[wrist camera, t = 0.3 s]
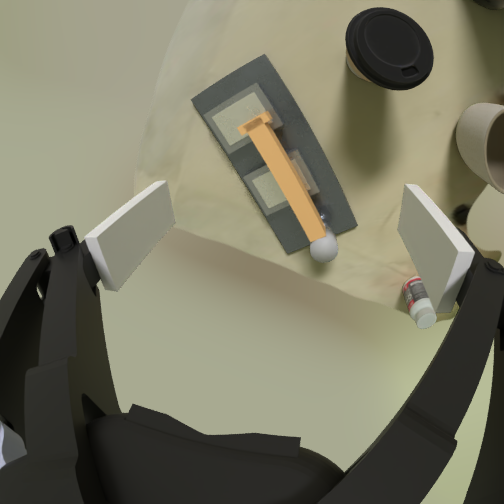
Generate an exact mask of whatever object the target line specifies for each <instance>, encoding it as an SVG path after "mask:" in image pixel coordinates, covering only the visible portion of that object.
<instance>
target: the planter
mask: <svg viewBox="0 0 504 504" xmlns="http://www.w3.org/2000/svg"><path fill="white" fill-rule="evenodd" d="M456 141H457V146H458V150H459V152H460V155H461V157H462V159H463V160H464V162H465V163H466V165H467V166H468V167H469V168H470V169H471V170H472V171H473V172H474V173H475V174H476V175H478V176H479V177H480V178H481V179H483V180H484V181H486V182H487V183H488V184H490V185H491V186H492V187H494V188H495V189H496V190H498V191H499V192H501V193H503V194H504V106H503V105H498V104H492V103H477V104H474V105H472V106H470V107H468V108H467V109H466V110H465V111H464V112H463V113H462V115H461V116H460V118H459V121H458V124H457V128H456Z"/></svg>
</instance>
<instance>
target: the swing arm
mask: <svg viewBox="0 0 504 504" xmlns="http://www.w3.org/2000/svg"><path fill="white" fill-rule="evenodd" d="M271 119H272V117H271V115H270V113H269V112H268V111H266V112H264V113H262V114H260V115H258V116H257V117H255V118H253V119H251V120H249V121H248V122H246V123H244V124H242V125H241V126H239V127H237V129H238V131H239V132H240V134H241V135H244V134H246V133H248V135H249V136H250V138H251V139H252V141H253V143H254V144H255V146H256V148H257V149H258V151H259V152H260V154H261V156H262V157H263V159H264V161H265V162H266V164H267V166H268V168H269V169H270V171H271V173H272V174H273V176H274V178H275V179H276V181H277V183H278V185H279V186H280V188H281V190H282V192H283V193H284V195H285V197H286V199H287V200H288V202H289V204H290V206H291V207H292V209H293V211H294V213H295V215H296V216H297V218H298V220H299V222H300V224H301V225H302V227H303V229H304V231H305V233H306V235H307V237H308V238H309V240H310V254H311V256H312V257H313V259H315V260H316V261H318V262H322V263H325V262H330V261H332V260H333V259H334V258H335V257H336V256H337V254H338V245H337V239H336V235H335V234H334V232H333V231H331V230H329V229H326V228H325V225H324V223H323V221H322V219H321V217H320V215H319V213H318V211H317V209H316V207H315V205H314V203H313V201H312V199H311V197H310V196H309V194H308V192H307V190H306V188H305V186H304V184H303V182H302V181H301V179H300V177H299V175H298V173H297V171H296V170H295V168H294V166H293V164H292V163H291V161H290V159H289V157H288V155H287V154H286V152H285V150H284V148H283V147H282V145H281V143H280V142H279V140H278V138H277V137H276V135H275V133H274V131H273V130H272V128H271V127H270V125H269V123H268V121H270V120H271Z"/></svg>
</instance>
